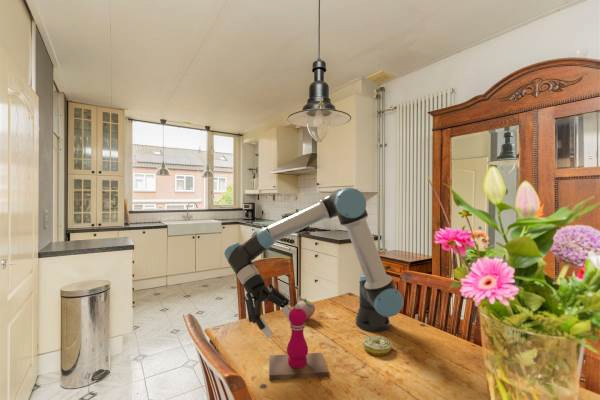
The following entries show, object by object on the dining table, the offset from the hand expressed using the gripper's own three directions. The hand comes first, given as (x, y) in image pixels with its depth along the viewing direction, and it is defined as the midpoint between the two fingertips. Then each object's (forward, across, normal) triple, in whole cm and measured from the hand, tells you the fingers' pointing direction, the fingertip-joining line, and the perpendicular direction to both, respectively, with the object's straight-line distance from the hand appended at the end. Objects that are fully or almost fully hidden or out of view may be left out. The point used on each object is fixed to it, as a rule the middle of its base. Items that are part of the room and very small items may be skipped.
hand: (282, 329), depth 102 cm
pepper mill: (+12, 0, -3) cm, 12 cm away
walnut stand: (+12, 0, -4) cm, 13 cm away
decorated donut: (+26, -27, +9) cm, 39 cm away
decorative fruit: (-1, -36, -18) cm, 40 cm away
